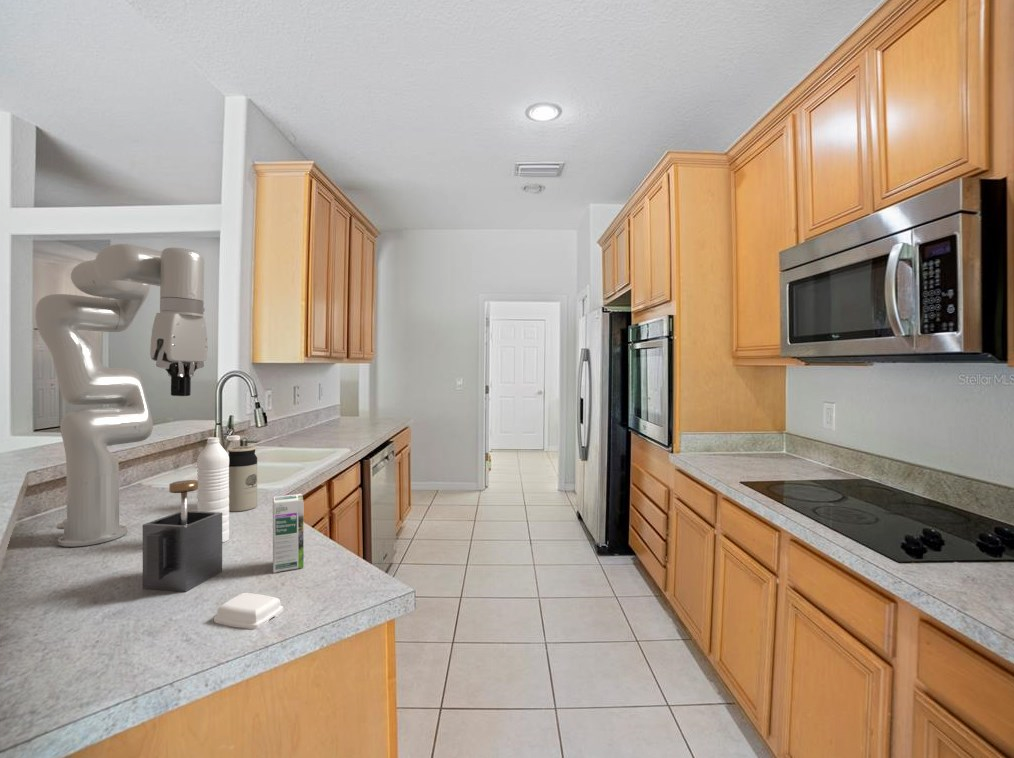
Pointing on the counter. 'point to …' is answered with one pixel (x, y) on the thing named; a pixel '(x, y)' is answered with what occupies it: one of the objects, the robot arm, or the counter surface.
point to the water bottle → (214, 481)
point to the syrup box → (288, 532)
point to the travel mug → (242, 478)
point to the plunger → (183, 495)
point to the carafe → (182, 551)
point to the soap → (248, 611)
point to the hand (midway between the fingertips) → (180, 395)
